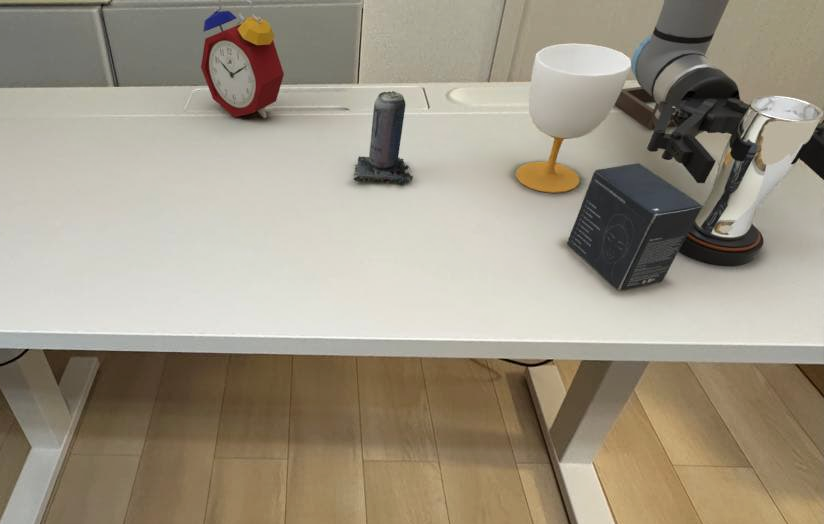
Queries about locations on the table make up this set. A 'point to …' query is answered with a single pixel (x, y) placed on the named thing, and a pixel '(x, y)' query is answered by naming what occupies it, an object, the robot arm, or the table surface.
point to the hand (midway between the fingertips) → (772, 172)
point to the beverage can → (385, 142)
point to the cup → (570, 103)
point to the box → (632, 225)
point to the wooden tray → (638, 106)
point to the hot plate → (722, 247)
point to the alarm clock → (241, 64)
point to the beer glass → (756, 162)
